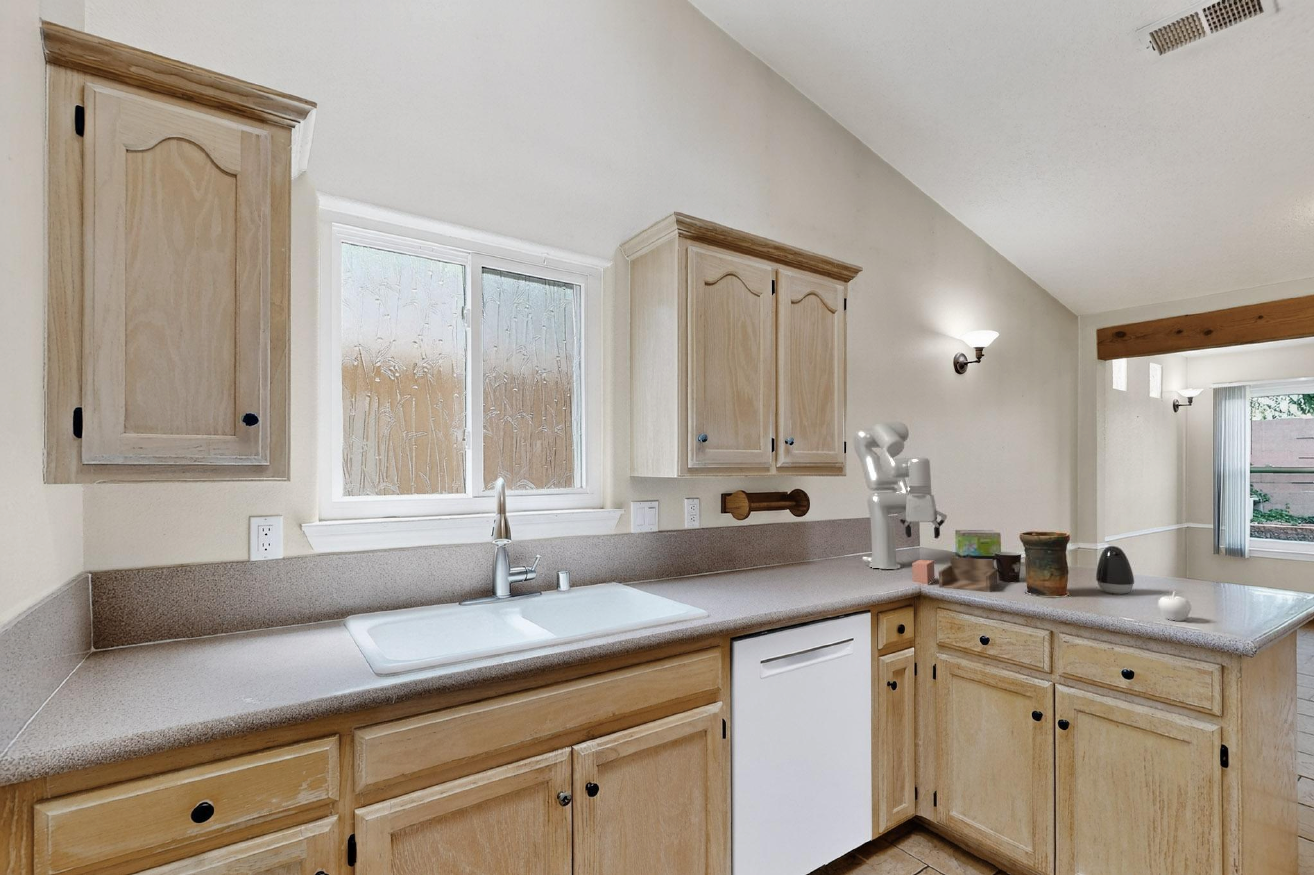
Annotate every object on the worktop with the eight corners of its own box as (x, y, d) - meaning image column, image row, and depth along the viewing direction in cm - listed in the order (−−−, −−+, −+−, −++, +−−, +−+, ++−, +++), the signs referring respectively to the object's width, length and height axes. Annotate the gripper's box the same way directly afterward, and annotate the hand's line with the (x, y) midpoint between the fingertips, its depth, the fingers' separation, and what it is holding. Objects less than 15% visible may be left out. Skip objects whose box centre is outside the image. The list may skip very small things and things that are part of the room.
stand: (939, 587, 223) (938, 562, 224) (949, 580, 235) (948, 557, 235) (989, 591, 214) (988, 566, 214) (997, 584, 225) (996, 560, 226)
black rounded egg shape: (1102, 595, 205) (1099, 547, 205) (1092, 588, 214) (1090, 543, 215) (1140, 596, 201) (1137, 548, 202) (1128, 590, 211) (1126, 544, 211)
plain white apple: (1164, 621, 171) (1163, 592, 171) (1154, 615, 178) (1153, 587, 178) (1196, 623, 168) (1195, 593, 169) (1185, 617, 175) (1183, 588, 175)
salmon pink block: (913, 583, 231) (912, 563, 231) (920, 579, 239) (919, 559, 239) (927, 585, 228) (926, 564, 228) (934, 580, 236) (933, 560, 236)
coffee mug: (1016, 578, 235) (1014, 551, 236) (1027, 582, 227) (1025, 554, 227) (983, 578, 236) (982, 551, 237) (993, 583, 228) (991, 555, 228)
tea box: (963, 568, 259) (961, 532, 260) (955, 564, 269) (954, 529, 270) (1002, 568, 257) (1000, 531, 258) (993, 564, 267) (992, 529, 267)
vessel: (1085, 596, 202) (1080, 534, 203) (1043, 599, 201) (1038, 536, 202) (1054, 588, 217) (1049, 529, 217) (1014, 591, 216) (1009, 532, 216)
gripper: (893, 491, 237) (895, 537, 236) (942, 491, 226) (945, 539, 225) (899, 490, 243) (901, 535, 242) (947, 490, 232) (950, 537, 231)
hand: (922, 537), depth 234 cm, fingers open, 9 cm apart
